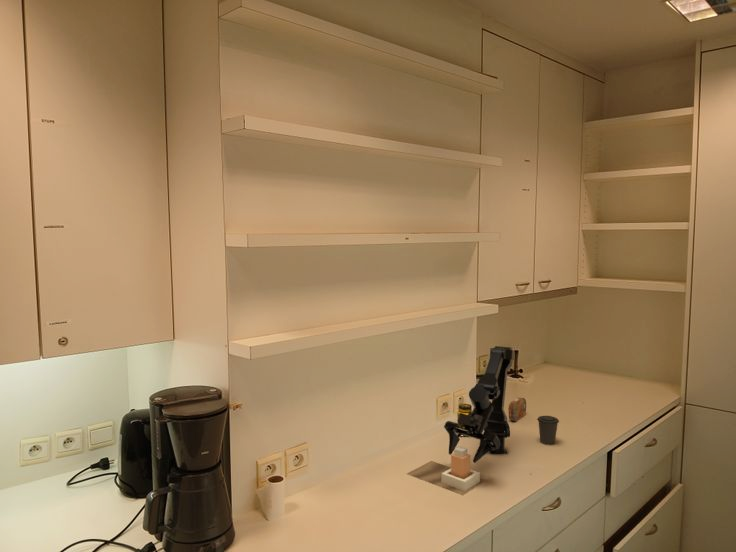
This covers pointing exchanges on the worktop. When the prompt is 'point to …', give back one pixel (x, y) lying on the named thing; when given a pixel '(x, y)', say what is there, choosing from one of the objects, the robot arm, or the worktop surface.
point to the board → (437, 476)
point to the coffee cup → (547, 429)
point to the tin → (517, 409)
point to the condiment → (463, 412)
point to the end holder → (460, 480)
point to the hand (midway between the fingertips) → (461, 458)
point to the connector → (460, 463)
